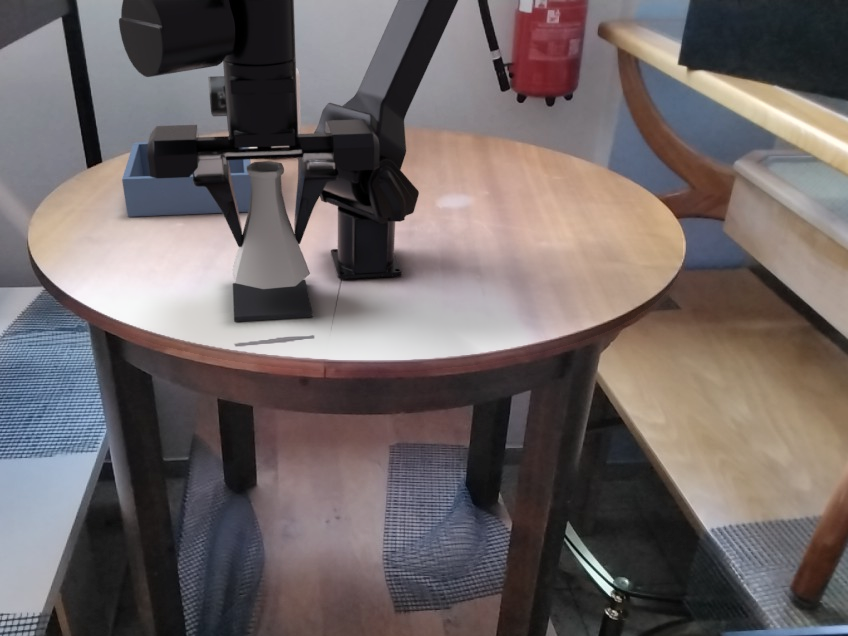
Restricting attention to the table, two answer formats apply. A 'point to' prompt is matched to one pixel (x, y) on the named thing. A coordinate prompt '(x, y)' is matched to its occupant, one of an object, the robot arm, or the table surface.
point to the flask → (268, 235)
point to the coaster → (271, 302)
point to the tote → (176, 189)
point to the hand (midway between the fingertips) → (269, 243)
